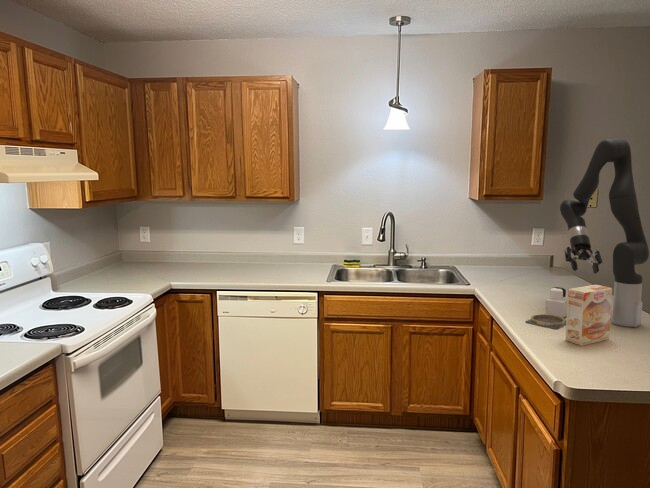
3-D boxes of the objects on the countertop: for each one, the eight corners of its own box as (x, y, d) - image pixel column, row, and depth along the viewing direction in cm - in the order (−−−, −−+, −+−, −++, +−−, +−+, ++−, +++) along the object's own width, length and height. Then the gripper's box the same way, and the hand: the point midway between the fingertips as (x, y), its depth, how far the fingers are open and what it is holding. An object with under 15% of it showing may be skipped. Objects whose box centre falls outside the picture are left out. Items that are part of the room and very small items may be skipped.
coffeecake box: (581, 346, 166) (584, 292, 163) (564, 340, 172) (566, 288, 170) (610, 339, 172) (613, 287, 169) (592, 333, 178) (595, 283, 175)
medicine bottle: (551, 311, 208) (552, 285, 206) (568, 314, 203) (569, 287, 201) (545, 315, 203) (546, 288, 201) (562, 318, 198) (564, 290, 196)
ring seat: (570, 322, 192) (570, 318, 192) (556, 329, 184) (556, 325, 184) (539, 316, 202) (539, 312, 201) (525, 322, 194) (525, 318, 193)
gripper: (567, 232, 200) (573, 264, 192) (600, 236, 200) (608, 269, 192) (558, 241, 207) (564, 273, 198) (590, 245, 206) (598, 277, 198)
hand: (586, 271), depth 195 cm, fingers open, 8 cm apart
